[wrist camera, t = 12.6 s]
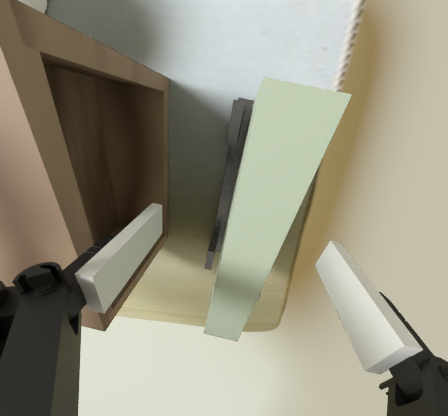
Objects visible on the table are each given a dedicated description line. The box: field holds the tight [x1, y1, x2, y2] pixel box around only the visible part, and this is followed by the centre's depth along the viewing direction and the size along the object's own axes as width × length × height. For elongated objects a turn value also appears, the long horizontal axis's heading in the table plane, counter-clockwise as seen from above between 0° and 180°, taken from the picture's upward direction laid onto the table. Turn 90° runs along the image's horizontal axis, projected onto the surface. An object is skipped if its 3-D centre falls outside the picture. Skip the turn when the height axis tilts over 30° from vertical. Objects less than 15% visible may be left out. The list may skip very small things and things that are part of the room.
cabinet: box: [0, 0, 169, 331], centre depth 15 cm, size 8×20×13 cm, turn 170°
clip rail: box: [205, 98, 254, 270], centre depth 18 cm, size 6×19×5 cm, turn 170°
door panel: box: [204, 77, 351, 341], centre depth 15 cm, size 18×4×11 cm, turn 170°
